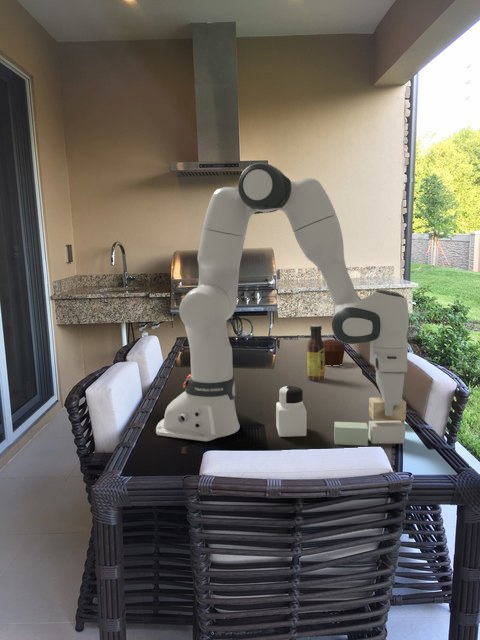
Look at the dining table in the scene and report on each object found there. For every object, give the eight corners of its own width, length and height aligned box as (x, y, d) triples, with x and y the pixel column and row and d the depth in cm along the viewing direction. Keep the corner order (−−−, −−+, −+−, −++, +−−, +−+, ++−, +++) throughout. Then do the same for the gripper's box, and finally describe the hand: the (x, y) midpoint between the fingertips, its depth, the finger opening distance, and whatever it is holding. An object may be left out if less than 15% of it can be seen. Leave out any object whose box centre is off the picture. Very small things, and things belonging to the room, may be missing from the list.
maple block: (373, 420, 122) (373, 402, 121) (368, 414, 126) (369, 397, 125) (405, 419, 122) (406, 401, 121) (400, 414, 126) (400, 396, 125)
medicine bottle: (302, 426, 135) (302, 383, 133) (306, 436, 128) (306, 391, 126) (276, 427, 135) (275, 384, 133) (279, 437, 128) (278, 392, 126)
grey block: (372, 444, 123) (372, 426, 122) (368, 437, 127) (368, 420, 126) (404, 443, 123) (405, 426, 122) (399, 437, 127) (400, 420, 126)
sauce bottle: (324, 382, 178) (324, 327, 175) (306, 381, 179) (306, 327, 176) (324, 377, 184) (325, 324, 181) (307, 376, 185) (307, 324, 182)
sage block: (334, 444, 123) (334, 427, 122) (334, 438, 127) (334, 421, 126) (367, 446, 122) (368, 428, 121) (366, 439, 126) (366, 422, 125)
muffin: (344, 360, 209) (344, 337, 207) (347, 367, 198) (347, 342, 196) (315, 360, 210) (316, 337, 208) (317, 367, 199) (317, 342, 197)
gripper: (370, 347, 132) (369, 397, 134) (379, 366, 112) (378, 424, 114) (395, 348, 131) (393, 398, 133) (408, 367, 111) (406, 426, 113)
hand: (386, 411), depth 124 cm, fingers closed on maple block, 4 cm apart
